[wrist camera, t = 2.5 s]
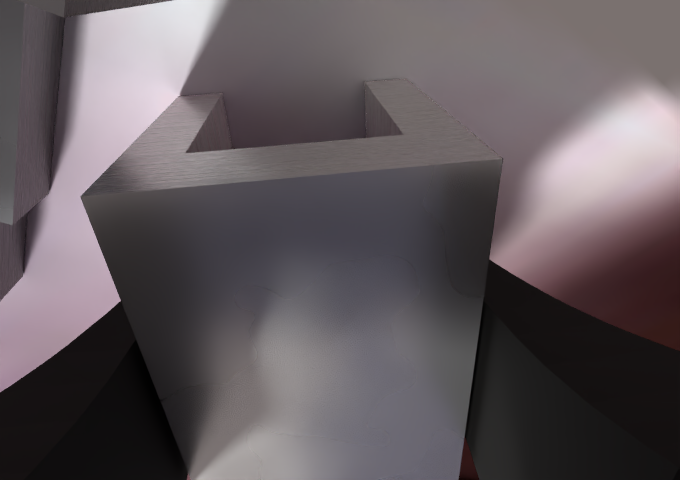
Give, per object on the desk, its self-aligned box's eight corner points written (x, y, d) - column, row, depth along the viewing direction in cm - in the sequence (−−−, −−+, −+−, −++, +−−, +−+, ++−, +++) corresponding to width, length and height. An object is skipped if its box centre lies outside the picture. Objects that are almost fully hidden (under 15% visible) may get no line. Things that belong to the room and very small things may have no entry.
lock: (401, 351, 14) (452, 524, 9) (243, 369, 13) (220, 555, 9) (405, 78, 9) (502, 158, 5) (178, 96, 9) (80, 196, 5)
